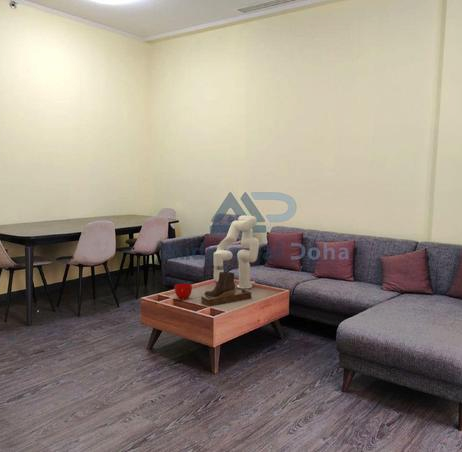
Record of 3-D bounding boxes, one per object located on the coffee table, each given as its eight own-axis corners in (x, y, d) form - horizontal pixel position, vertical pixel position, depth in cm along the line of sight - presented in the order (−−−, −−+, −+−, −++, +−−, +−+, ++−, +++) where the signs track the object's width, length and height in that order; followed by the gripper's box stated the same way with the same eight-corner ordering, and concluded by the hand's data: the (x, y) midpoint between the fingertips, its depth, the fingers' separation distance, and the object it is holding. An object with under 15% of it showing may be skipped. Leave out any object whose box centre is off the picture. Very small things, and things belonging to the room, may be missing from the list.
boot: (205, 295, 353) (205, 270, 351) (236, 296, 350) (236, 270, 348) (203, 298, 344) (202, 272, 342) (234, 299, 342) (234, 273, 340)
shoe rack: (243, 295, 353) (243, 289, 353) (251, 298, 344) (251, 292, 344) (201, 302, 333) (201, 296, 333) (208, 306, 324) (208, 299, 324)
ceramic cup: (173, 302, 335) (173, 289, 334) (175, 296, 351) (175, 283, 350) (191, 302, 336) (191, 288, 335) (192, 295, 352) (192, 283, 351)
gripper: (227, 268, 350) (227, 291, 352) (218, 265, 363) (218, 287, 365) (218, 269, 346) (219, 293, 348) (209, 266, 359) (210, 289, 361)
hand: (218, 290), depth 356 cm, fingers closed
